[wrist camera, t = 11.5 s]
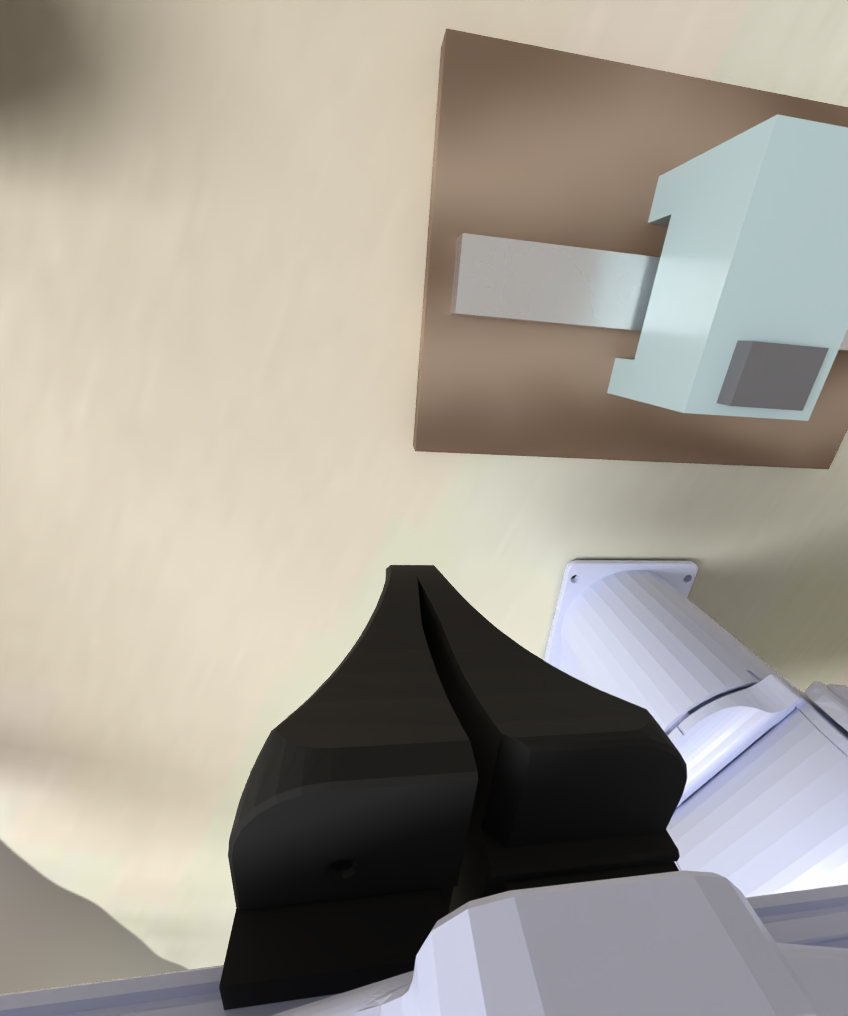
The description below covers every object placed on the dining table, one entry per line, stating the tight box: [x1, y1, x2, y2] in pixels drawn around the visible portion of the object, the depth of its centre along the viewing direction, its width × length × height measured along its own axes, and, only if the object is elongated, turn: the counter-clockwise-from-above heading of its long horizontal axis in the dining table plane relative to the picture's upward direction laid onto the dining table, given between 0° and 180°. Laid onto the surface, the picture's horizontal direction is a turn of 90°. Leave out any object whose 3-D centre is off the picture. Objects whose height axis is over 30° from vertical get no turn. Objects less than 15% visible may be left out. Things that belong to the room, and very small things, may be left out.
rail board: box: [413, 29, 848, 469], centre depth 18 cm, size 14×22×2 cm, turn 85°
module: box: [607, 114, 848, 421], centre depth 15 cm, size 8×5×6 cm, turn 175°
